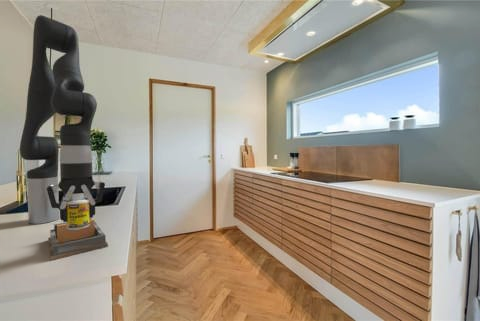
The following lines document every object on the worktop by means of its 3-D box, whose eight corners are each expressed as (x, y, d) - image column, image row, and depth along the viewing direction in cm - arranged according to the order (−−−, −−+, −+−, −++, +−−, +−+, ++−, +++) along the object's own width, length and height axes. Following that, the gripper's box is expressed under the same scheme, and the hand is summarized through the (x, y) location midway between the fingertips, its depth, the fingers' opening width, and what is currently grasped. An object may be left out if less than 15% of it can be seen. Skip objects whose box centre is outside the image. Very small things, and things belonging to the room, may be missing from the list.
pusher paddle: (57, 241, 67) (57, 225, 67) (94, 234, 73) (93, 219, 73) (57, 242, 67) (57, 226, 66) (94, 235, 73) (94, 219, 72)
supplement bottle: (65, 232, 63) (64, 195, 62) (67, 226, 67) (66, 192, 67) (90, 228, 66) (89, 193, 65) (90, 223, 70) (89, 190, 70)
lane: (48, 240, 71) (47, 225, 71) (96, 230, 80) (96, 217, 80) (50, 260, 59) (50, 242, 58) (107, 246, 67) (107, 230, 67)
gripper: (102, 160, 73) (103, 212, 74) (43, 161, 64) (45, 221, 64) (107, 161, 68) (109, 217, 68) (43, 163, 58) (46, 228, 59)
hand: (78, 218), depth 66 cm, fingers closed on supplement bottle, 5 cm apart
